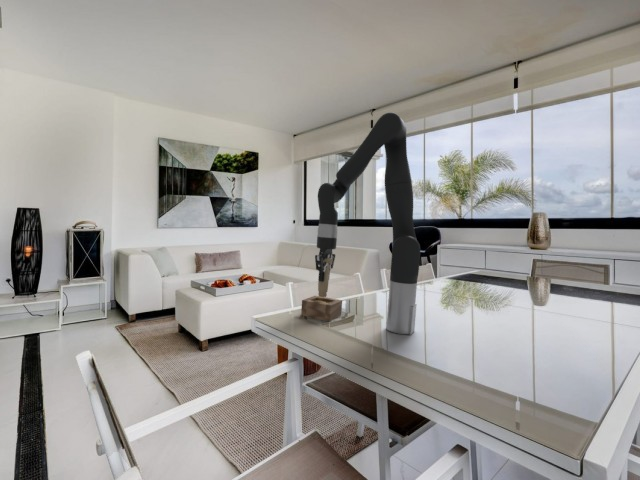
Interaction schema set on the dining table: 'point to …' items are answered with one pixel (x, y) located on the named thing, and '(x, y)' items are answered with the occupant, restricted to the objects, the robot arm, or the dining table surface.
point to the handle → (324, 285)
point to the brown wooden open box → (321, 308)
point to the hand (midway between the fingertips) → (323, 280)
